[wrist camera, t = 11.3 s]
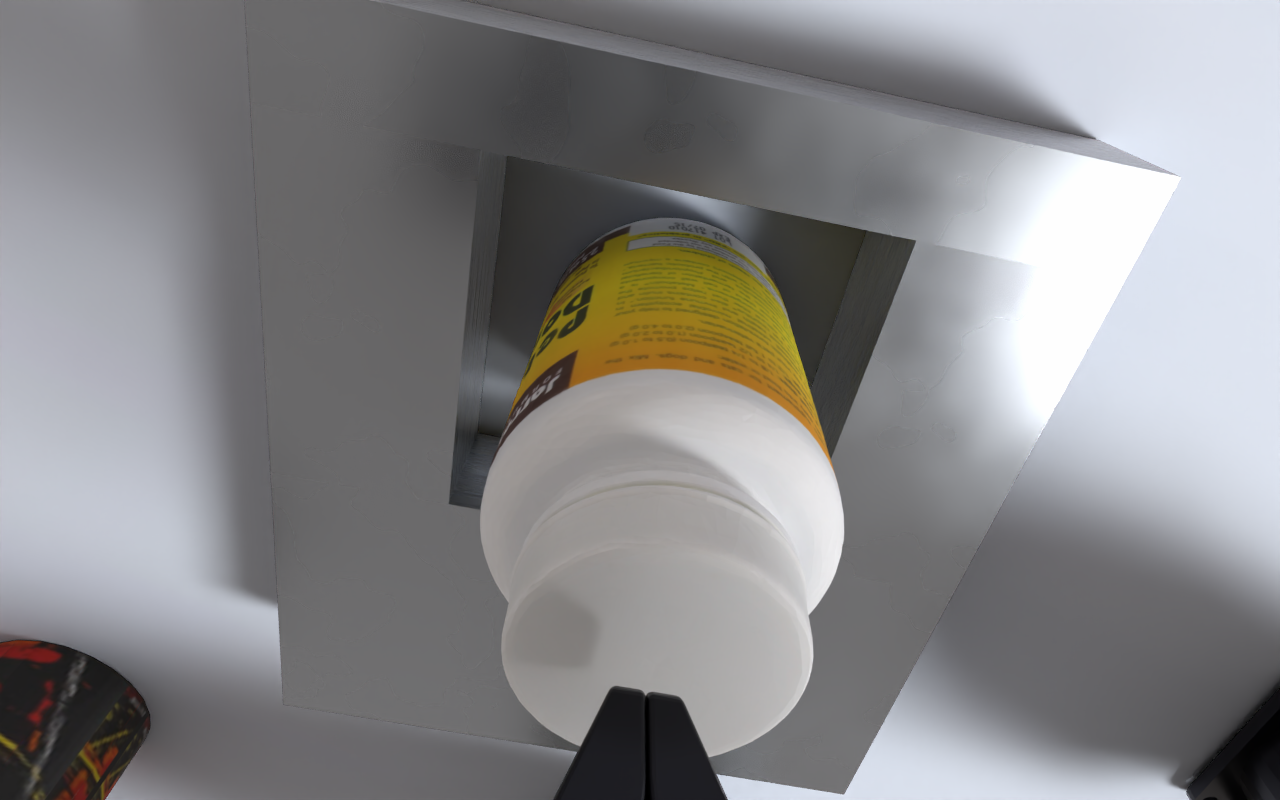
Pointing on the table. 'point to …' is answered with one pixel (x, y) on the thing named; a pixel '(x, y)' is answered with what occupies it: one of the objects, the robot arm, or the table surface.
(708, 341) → the supplement bottle
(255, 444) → the table surface
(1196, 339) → the table surface
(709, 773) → the robot arm
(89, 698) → the deodorant
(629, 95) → the jig block
